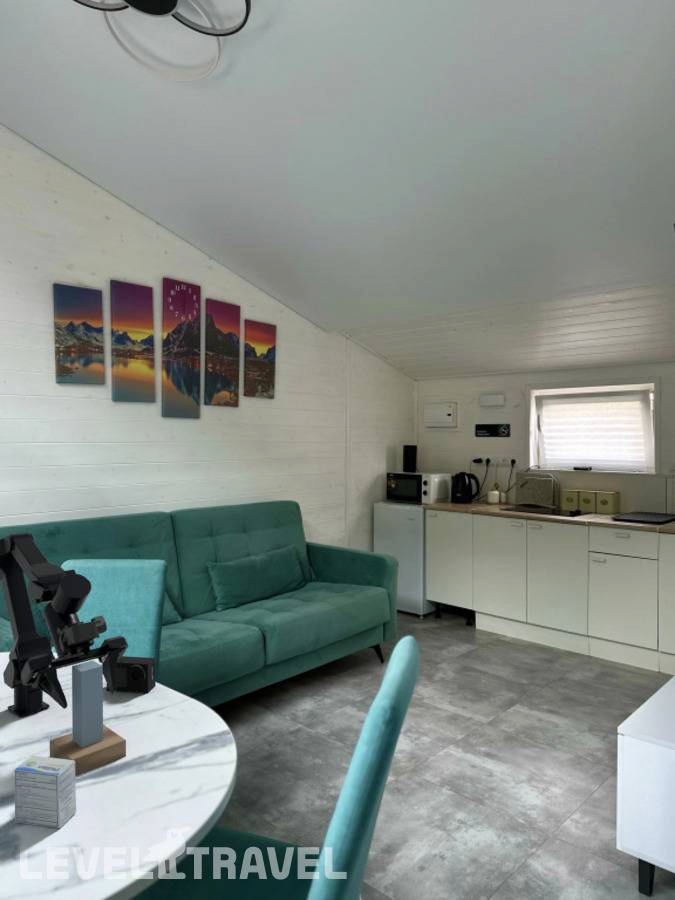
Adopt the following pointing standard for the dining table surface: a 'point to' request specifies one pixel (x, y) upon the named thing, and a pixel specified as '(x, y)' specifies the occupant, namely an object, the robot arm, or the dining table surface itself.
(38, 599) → the robot arm
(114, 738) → the walnut block
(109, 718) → the dining table surface
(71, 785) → the medicine box
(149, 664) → the digital camera
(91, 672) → the slate pillar
